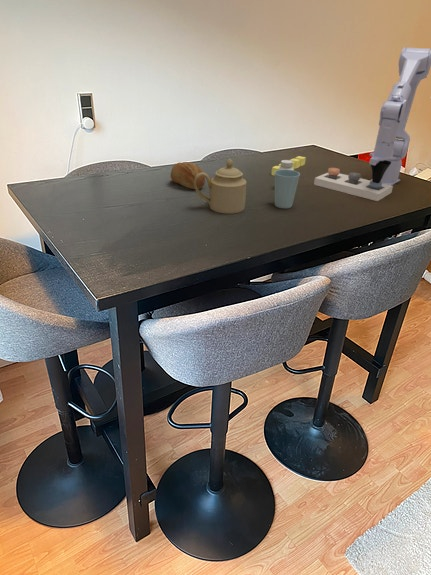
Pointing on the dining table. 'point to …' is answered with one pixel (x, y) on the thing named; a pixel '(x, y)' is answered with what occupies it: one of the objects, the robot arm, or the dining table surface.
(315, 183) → the button panel
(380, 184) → the slate blue button
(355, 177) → the charcoal button
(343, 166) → the dining table surface
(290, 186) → the cup
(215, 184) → the sugar bowl
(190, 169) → the bread roll
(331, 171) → the terracotta button
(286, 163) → the supplement bottle
